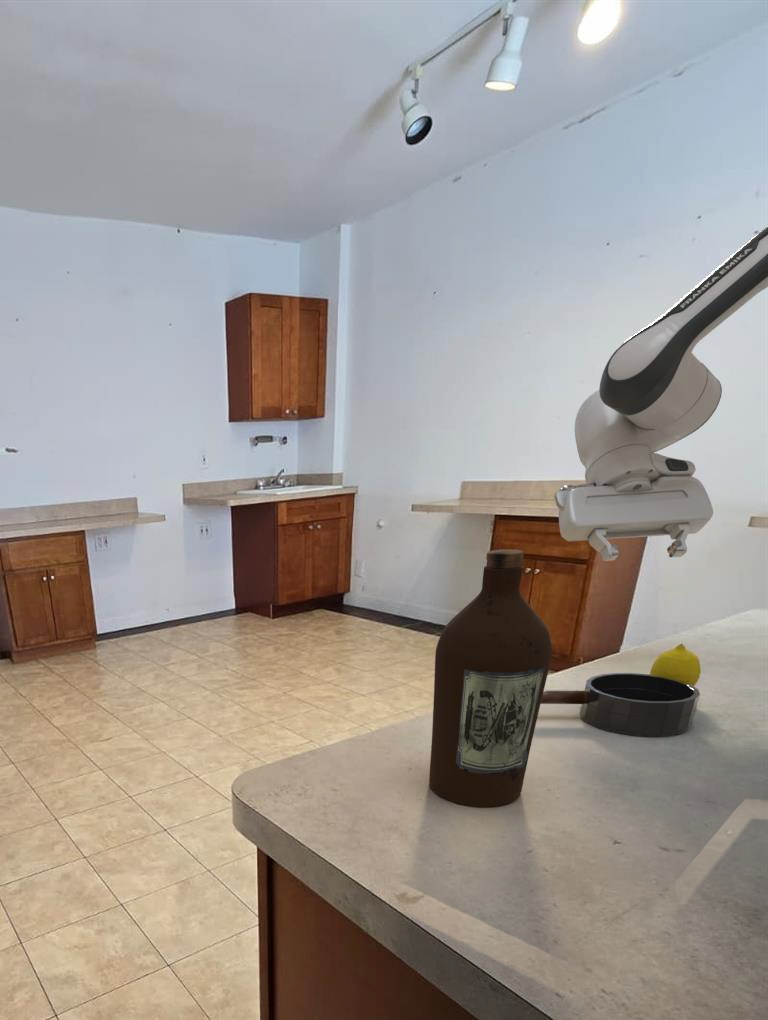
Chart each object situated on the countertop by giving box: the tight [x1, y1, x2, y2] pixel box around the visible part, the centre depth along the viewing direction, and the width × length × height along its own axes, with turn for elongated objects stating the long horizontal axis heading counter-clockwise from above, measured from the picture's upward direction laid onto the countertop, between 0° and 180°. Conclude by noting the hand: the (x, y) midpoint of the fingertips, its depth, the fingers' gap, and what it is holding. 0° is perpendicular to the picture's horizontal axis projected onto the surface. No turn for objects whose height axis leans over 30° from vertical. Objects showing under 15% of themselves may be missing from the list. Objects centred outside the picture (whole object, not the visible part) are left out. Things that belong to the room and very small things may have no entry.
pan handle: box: [540, 689, 588, 705], centre depth 86 cm, size 11×2×2 cm, turn 77°
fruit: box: [649, 643, 701, 687], centre depth 88 cm, size 6×6×8 cm
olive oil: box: [428, 548, 553, 808], centre depth 65 cm, size 11×11×25 cm
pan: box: [579, 672, 701, 738], centre depth 83 cm, size 12×12×4 cm
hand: (644, 556), depth 93 cm, fingers open, 8 cm apart
